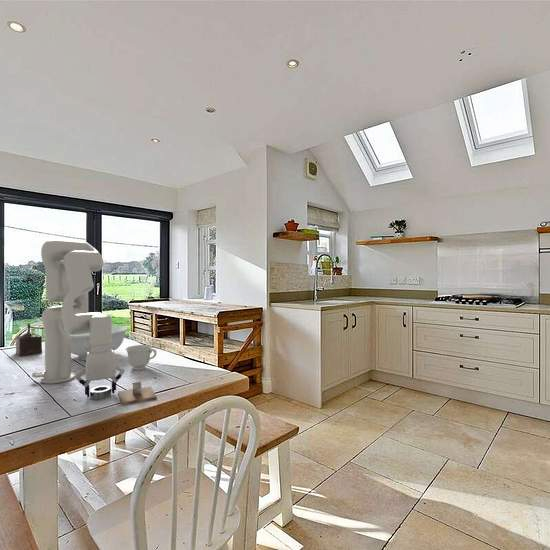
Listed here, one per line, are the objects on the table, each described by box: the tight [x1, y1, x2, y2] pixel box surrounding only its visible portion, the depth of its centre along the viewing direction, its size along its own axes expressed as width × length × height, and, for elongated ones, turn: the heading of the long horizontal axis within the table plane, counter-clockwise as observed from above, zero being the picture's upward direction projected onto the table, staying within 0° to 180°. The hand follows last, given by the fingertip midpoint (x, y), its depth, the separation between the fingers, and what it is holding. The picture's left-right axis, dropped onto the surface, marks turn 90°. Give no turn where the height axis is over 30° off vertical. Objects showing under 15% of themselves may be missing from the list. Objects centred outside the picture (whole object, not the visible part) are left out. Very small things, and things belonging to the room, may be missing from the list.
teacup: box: [125, 344, 157, 371], centre depth 166 cm, size 12×15×10 cm
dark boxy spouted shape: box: [15, 323, 44, 357], centre depth 193 cm, size 16×11×18 cm
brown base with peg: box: [117, 380, 157, 406], centre depth 131 cm, size 12×12×6 cm
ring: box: [89, 385, 112, 401], centre depth 130 cm, size 7×7×3 cm
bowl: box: [69, 324, 128, 361], centre depth 186 cm, size 32×32×15 cm
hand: (100, 394), depth 130 cm, fingers open, 7 cm apart
